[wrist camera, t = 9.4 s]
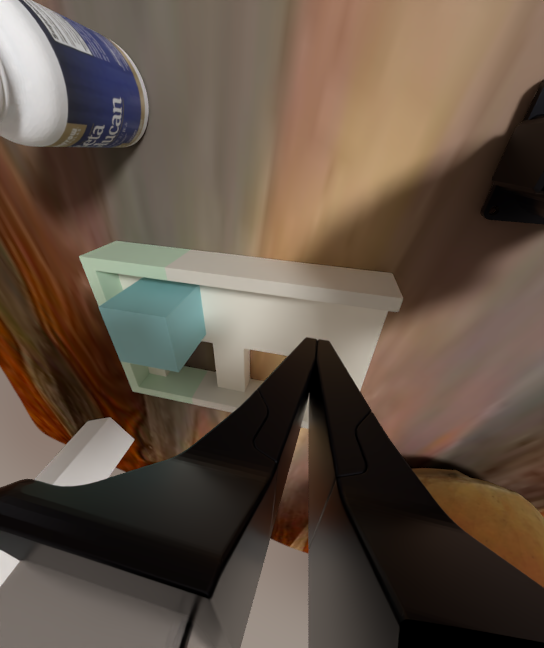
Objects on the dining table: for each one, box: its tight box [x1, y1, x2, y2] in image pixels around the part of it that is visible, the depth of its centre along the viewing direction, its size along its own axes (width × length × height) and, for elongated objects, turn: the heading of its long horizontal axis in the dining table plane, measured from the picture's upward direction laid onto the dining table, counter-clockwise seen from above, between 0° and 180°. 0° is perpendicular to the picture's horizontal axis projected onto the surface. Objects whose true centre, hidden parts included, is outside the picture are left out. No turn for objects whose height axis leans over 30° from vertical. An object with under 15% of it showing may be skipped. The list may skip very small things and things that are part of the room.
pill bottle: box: [0, 0, 149, 148], centre depth 13 cm, size 5×5×10 cm
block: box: [99, 277, 206, 372], centre depth 20 cm, size 5×5×5 cm
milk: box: [0, 417, 135, 586], centre depth 34 cm, size 6×6×22 cm
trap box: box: [79, 241, 403, 429], centre depth 23 cm, size 23×15×4 cm, turn 87°
